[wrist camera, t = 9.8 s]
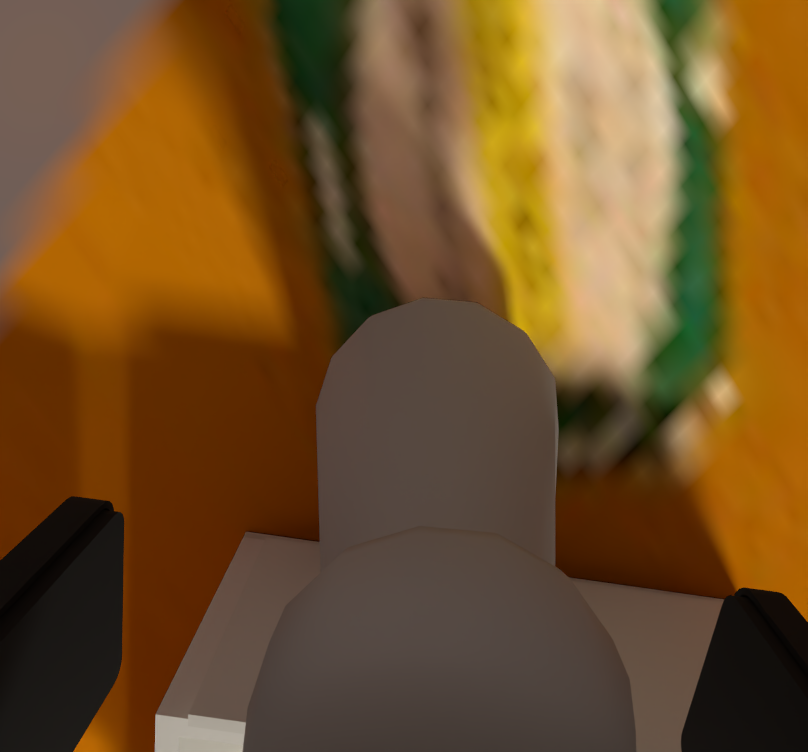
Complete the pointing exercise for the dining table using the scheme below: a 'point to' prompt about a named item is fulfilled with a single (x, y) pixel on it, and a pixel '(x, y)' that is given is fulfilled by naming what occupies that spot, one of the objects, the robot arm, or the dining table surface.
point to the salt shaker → (439, 559)
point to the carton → (300, 563)
